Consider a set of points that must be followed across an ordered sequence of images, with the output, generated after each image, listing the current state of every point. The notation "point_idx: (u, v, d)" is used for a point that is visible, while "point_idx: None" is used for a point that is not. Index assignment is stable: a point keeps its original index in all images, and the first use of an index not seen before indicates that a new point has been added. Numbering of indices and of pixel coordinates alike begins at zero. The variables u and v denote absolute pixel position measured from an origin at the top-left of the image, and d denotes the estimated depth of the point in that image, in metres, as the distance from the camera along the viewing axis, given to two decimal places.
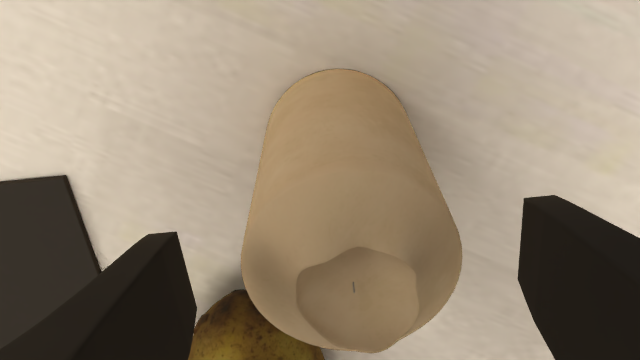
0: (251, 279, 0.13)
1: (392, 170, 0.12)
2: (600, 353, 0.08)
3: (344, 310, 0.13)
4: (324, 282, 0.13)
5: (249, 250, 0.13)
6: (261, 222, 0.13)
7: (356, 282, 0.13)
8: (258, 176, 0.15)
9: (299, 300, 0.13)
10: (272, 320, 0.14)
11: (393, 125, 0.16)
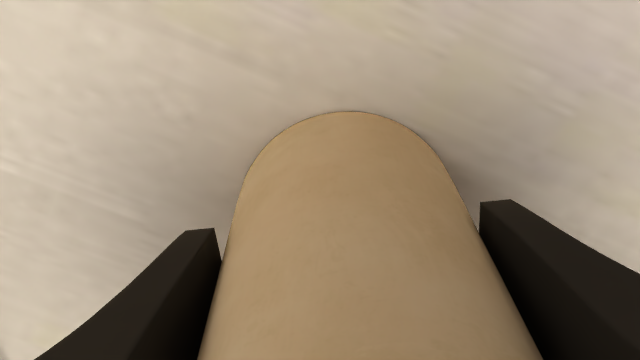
0: None
1: None
2: (544, 358, 0.08)
3: None
4: None
5: None
6: None
7: None
8: (206, 327, 0.08)
9: None
10: None
11: (451, 232, 0.09)
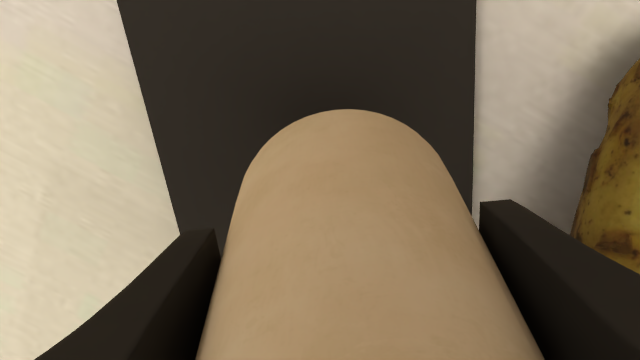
0: None
1: None
2: (544, 358, 0.08)
3: None
4: None
5: None
6: None
7: None
8: (206, 324, 0.08)
9: None
10: None
11: (450, 229, 0.09)
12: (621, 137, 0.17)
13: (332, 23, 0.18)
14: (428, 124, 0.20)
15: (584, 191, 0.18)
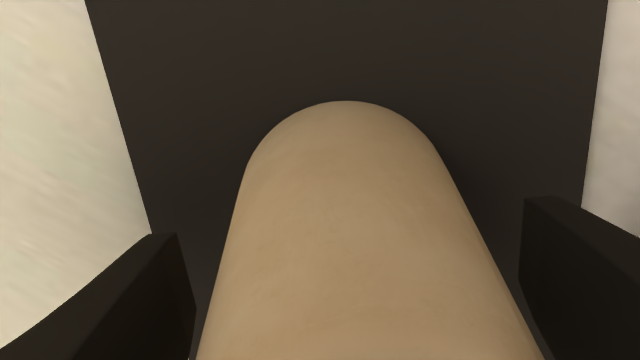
0: None
1: (465, 344, 0.06)
2: (600, 353, 0.08)
3: None
4: None
5: None
6: None
7: None
8: (213, 298, 0.09)
9: None
10: None
11: (442, 209, 0.09)
12: None
13: None
14: (527, 108, 0.14)
15: None
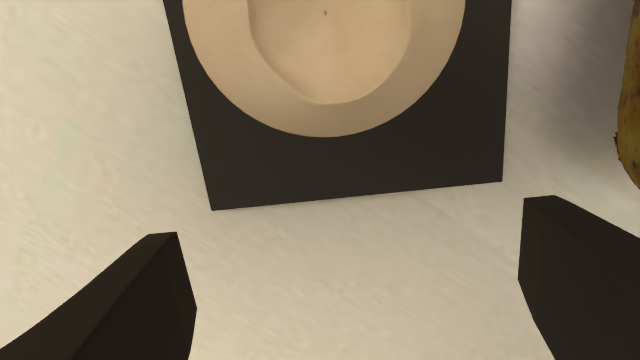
0: (195, 16, 0.10)
1: None
2: (600, 353, 0.08)
3: (315, 55, 0.10)
4: (287, 8, 0.10)
5: None
6: None
7: (329, 12, 0.10)
8: None
9: (254, 28, 0.10)
10: (225, 82, 0.11)
11: None
12: None
13: None
14: None
15: None
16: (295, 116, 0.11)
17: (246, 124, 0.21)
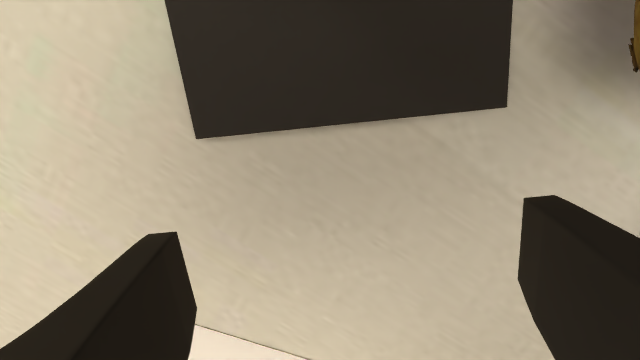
0: None
1: None
2: (600, 353, 0.08)
3: None
4: None
5: None
6: None
7: None
8: None
9: None
10: None
11: None
12: None
13: None
14: None
15: None
16: None
17: (232, 39, 0.19)
